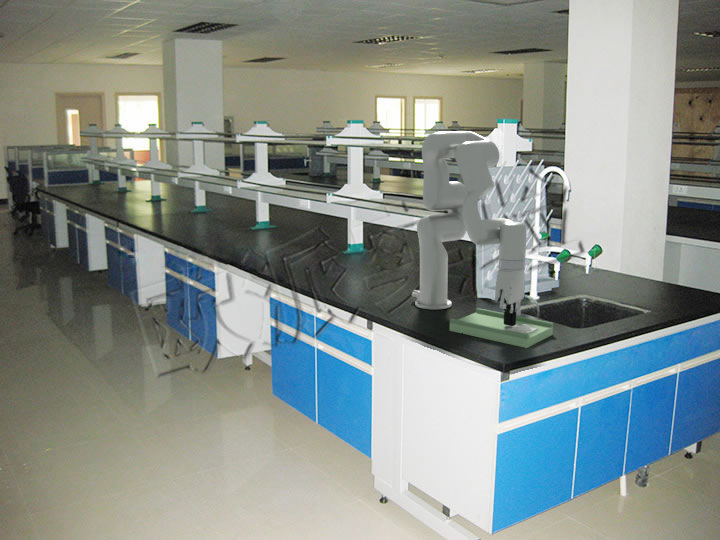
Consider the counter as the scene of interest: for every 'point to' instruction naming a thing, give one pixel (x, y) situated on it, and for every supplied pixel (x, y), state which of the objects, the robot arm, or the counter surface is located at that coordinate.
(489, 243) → the robot arm
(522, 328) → the ball
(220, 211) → the counter surface
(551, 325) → the putting mat
